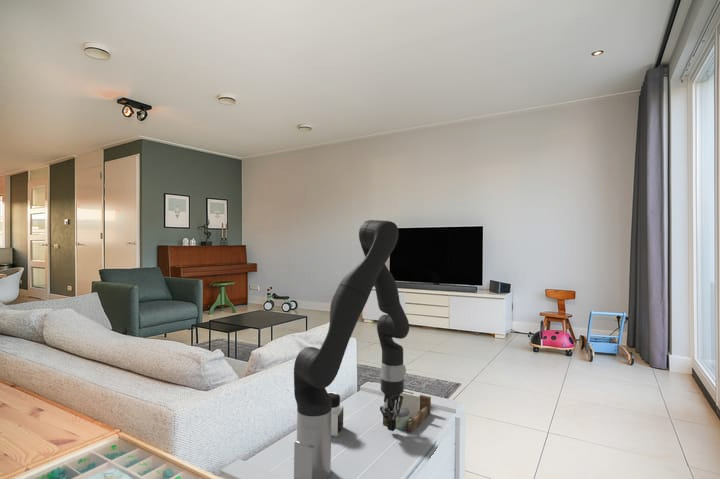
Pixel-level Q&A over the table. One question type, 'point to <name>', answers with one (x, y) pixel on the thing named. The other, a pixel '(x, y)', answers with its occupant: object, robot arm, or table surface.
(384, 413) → the robot arm
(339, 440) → the table surface
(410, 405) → the pusher plate
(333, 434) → the medicine bottle
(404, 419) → the jar
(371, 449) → the table surface
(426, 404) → the lane
